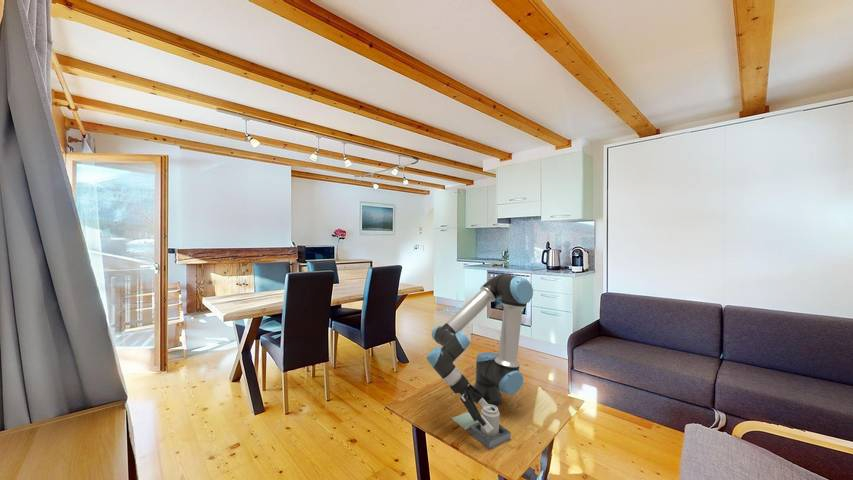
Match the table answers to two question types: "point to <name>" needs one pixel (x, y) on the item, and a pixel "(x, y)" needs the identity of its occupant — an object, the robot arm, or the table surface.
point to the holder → (489, 442)
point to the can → (491, 419)
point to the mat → (464, 420)
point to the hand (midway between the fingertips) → (490, 420)
